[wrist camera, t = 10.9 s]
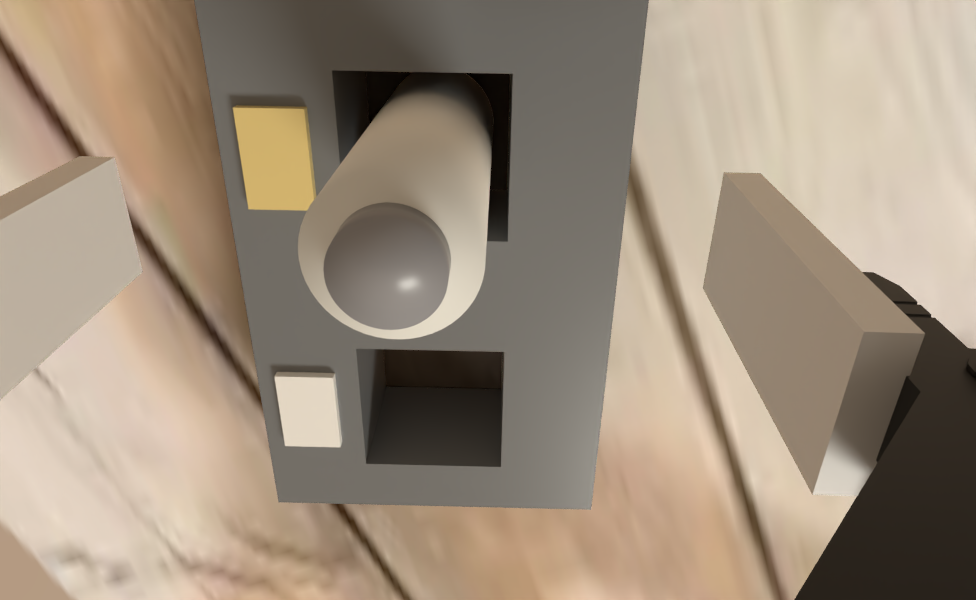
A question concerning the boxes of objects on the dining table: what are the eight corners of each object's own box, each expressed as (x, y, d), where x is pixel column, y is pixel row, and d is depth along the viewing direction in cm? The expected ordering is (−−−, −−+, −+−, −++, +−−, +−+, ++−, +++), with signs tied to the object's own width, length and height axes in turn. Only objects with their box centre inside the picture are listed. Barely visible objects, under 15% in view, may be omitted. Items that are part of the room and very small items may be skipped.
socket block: (310, 421, 31) (276, 507, 26) (253, -21, 22) (187, -11, 18) (578, 427, 31) (591, 515, 26) (619, -15, 22) (651, -3, 18)
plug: (365, 122, 25) (247, 277, 13) (436, 42, 23) (372, 136, 12) (444, 193, 26) (397, 391, 14) (515, 120, 24) (525, 274, 13)
